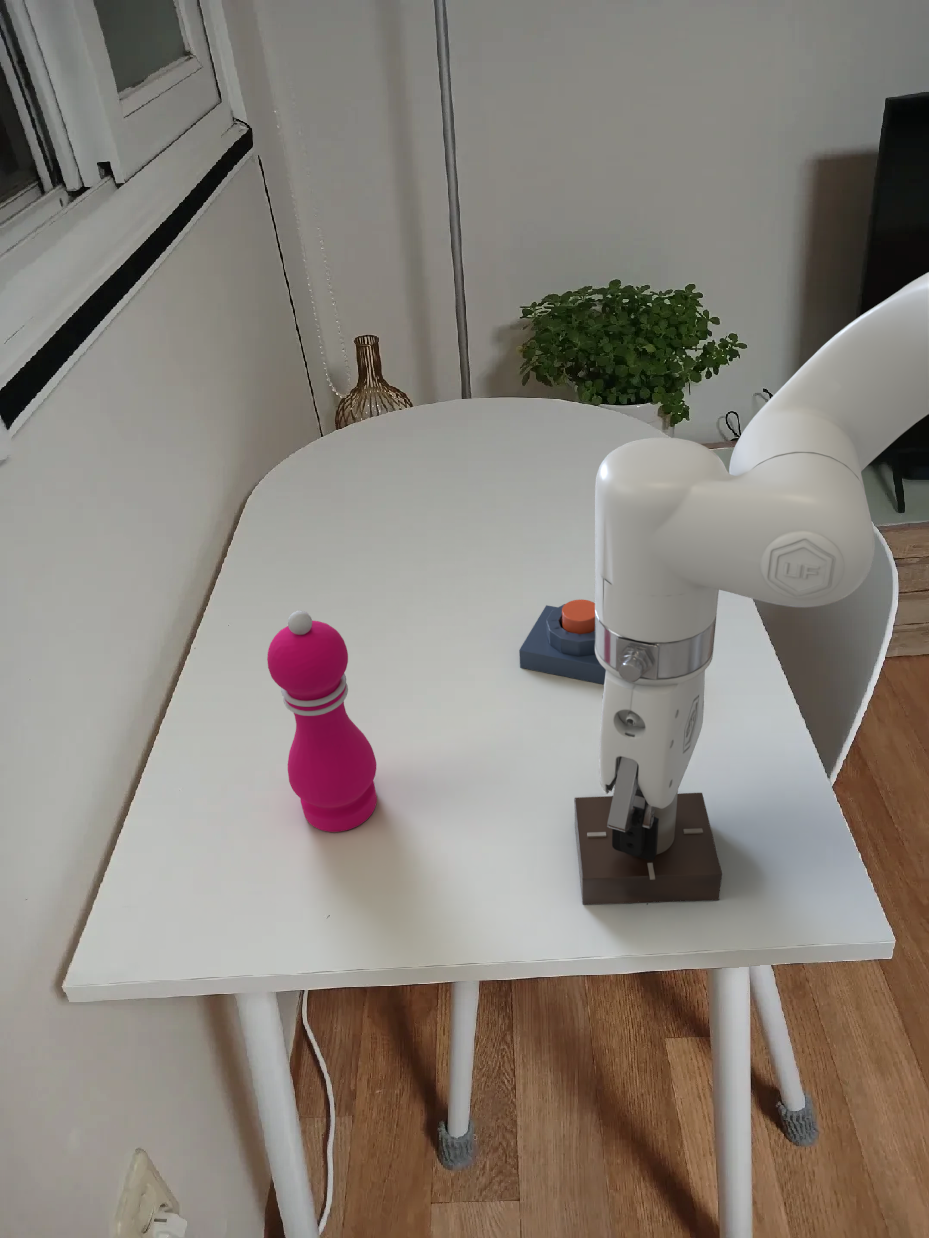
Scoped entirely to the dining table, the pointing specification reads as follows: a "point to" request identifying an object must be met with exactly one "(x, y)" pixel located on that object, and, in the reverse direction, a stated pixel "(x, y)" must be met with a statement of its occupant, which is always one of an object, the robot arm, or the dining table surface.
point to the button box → (560, 649)
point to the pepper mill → (322, 726)
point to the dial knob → (663, 822)
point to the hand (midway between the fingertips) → (645, 824)
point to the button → (579, 616)
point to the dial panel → (633, 879)
